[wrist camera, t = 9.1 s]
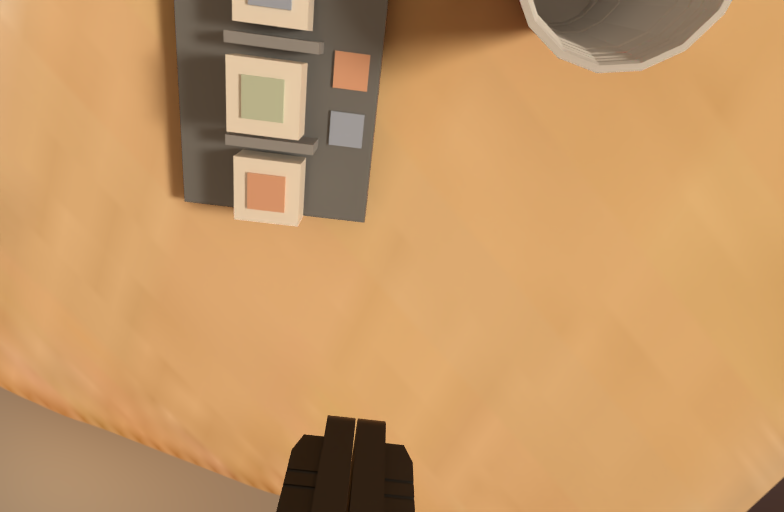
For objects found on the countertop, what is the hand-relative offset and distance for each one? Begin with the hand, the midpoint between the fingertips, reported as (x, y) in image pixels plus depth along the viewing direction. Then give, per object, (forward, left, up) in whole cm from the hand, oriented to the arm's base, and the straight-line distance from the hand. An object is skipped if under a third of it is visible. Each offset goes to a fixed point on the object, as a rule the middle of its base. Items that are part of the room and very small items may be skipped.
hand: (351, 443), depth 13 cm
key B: (-5, -8, -26) cm, 28 cm away
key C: (+1, -8, -27) cm, 28 cm away
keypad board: (-5, -8, -28) cm, 30 cm away
